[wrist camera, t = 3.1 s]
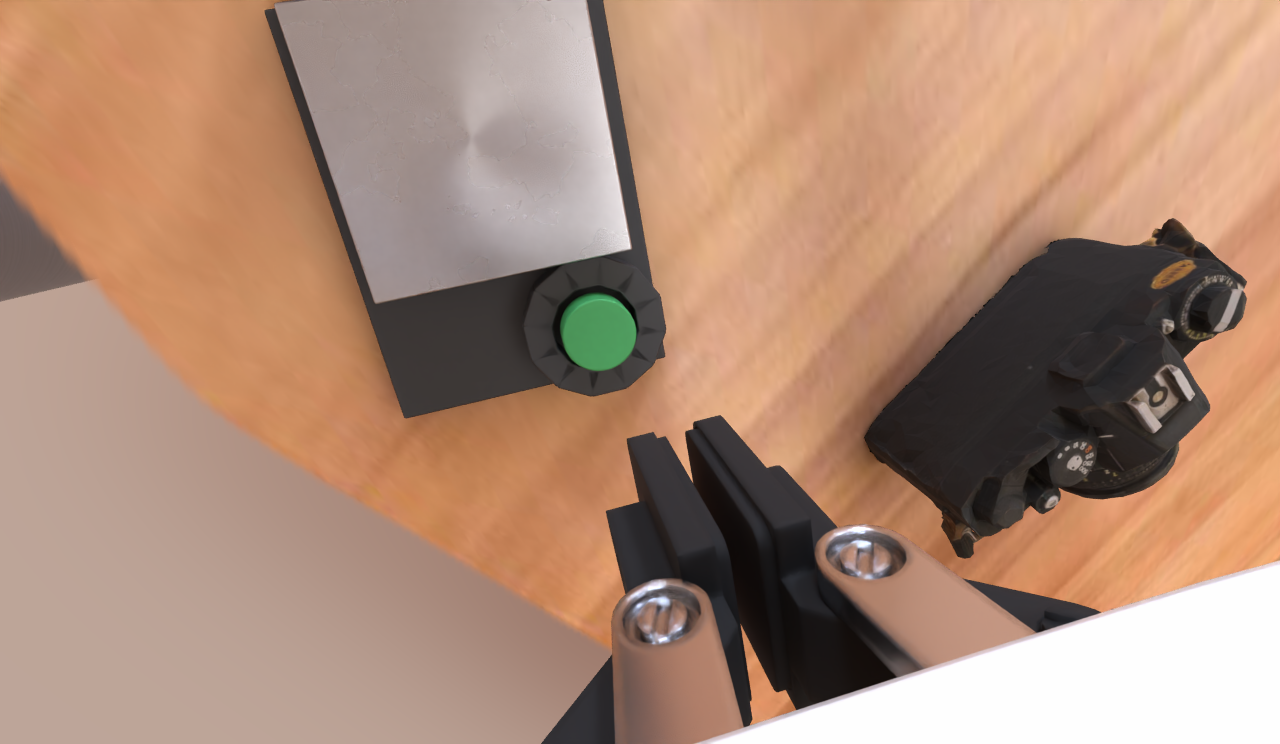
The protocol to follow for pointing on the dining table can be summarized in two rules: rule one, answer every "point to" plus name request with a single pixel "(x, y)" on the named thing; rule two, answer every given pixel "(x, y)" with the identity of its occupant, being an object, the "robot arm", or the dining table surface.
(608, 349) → the tare button
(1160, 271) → the film camera
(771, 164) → the dining table surface
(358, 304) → the dining table surface
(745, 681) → the robot arm
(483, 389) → the scale
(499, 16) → the pan
